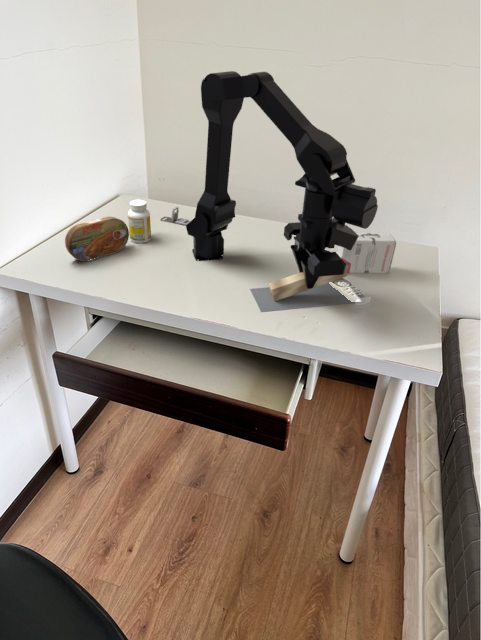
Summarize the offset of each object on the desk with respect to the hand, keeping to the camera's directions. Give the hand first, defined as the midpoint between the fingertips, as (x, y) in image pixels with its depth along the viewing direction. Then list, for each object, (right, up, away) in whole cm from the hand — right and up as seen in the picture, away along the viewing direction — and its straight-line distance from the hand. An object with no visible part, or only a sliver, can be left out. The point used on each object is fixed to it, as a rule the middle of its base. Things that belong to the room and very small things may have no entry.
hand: (307, 284), depth 96 cm
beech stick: (0, 0, 0) cm, 0 cm away
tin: (-47, +8, +14) cm, 50 cm away
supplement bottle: (-39, +13, +22) cm, 47 cm away
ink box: (+8, +8, +10) cm, 15 cm away
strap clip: (-32, +19, +32) cm, 49 cm away
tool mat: (0, -3, +2) cm, 3 cm away
